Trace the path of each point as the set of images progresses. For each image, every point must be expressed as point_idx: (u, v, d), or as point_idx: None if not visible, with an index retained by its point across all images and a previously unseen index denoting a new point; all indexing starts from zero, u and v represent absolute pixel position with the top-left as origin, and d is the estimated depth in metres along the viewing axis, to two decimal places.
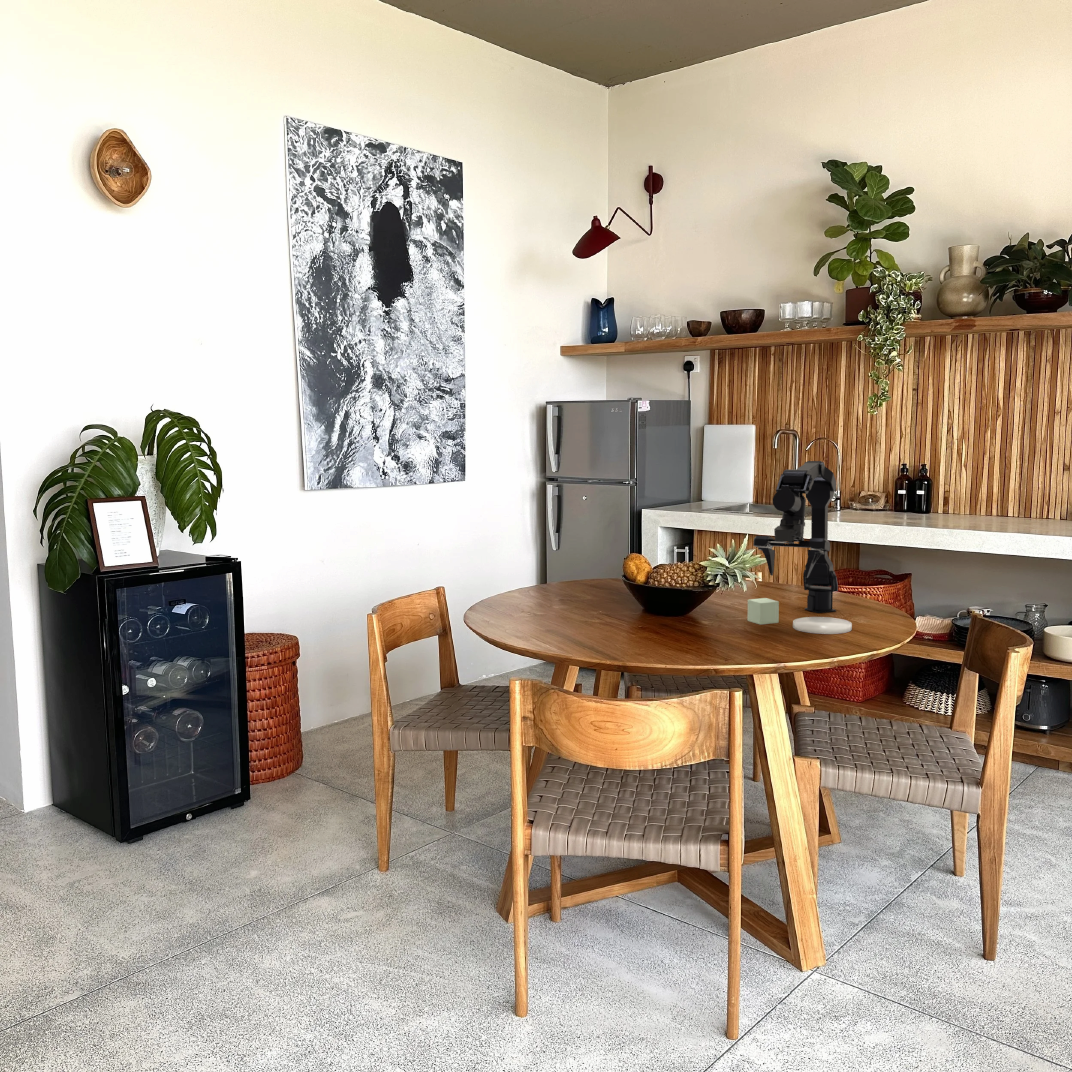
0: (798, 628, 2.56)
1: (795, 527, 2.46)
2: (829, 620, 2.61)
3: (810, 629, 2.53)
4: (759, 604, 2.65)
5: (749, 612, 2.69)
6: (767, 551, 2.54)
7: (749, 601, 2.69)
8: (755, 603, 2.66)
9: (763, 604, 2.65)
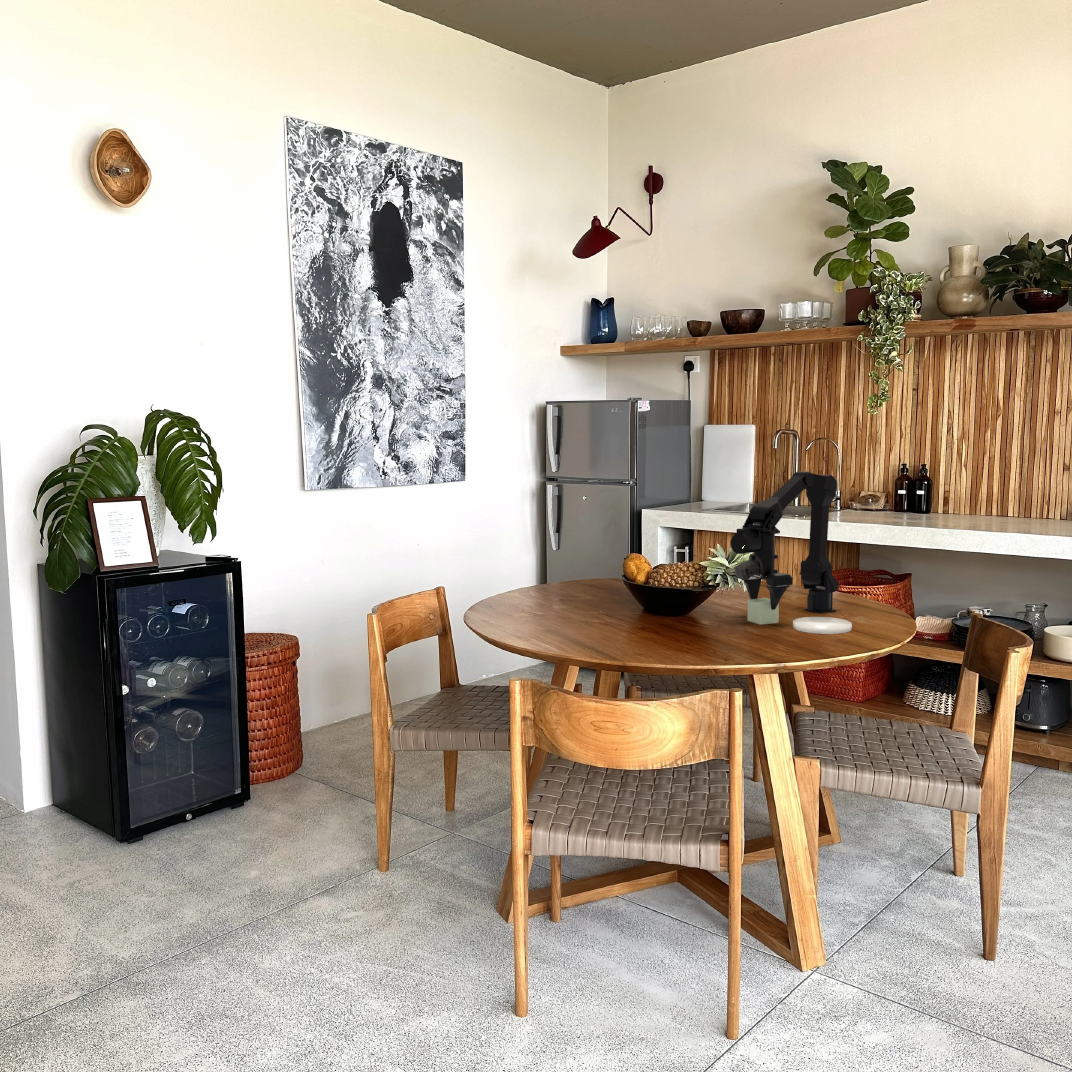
0: (798, 628, 2.56)
1: (747, 567, 2.62)
2: (829, 620, 2.61)
3: (810, 629, 2.53)
4: (759, 604, 2.65)
5: (749, 612, 2.69)
6: (745, 582, 2.72)
7: (749, 601, 2.69)
8: (755, 603, 2.66)
9: (763, 604, 2.65)
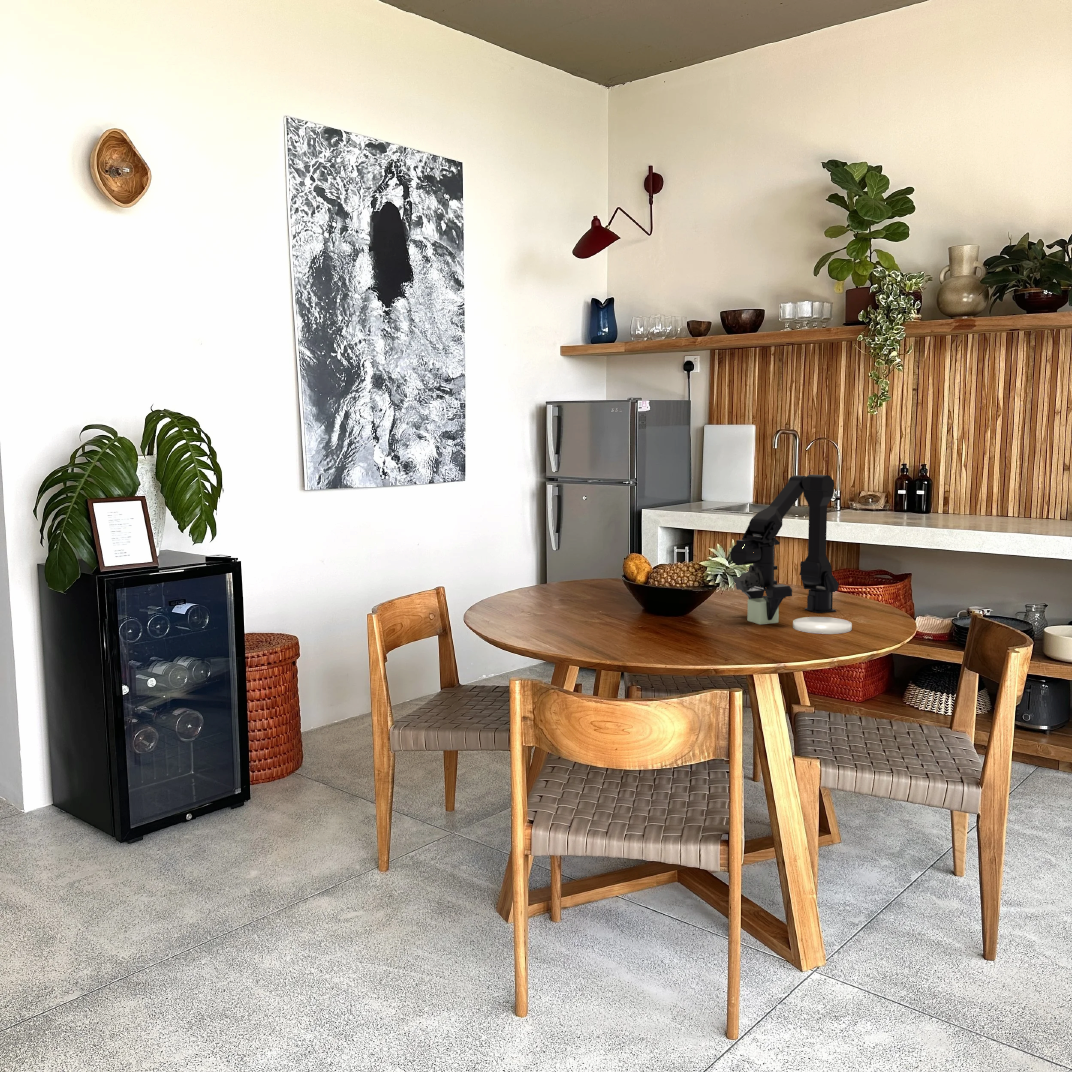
0: (798, 628, 2.56)
1: (746, 578, 2.62)
2: (829, 620, 2.61)
3: (810, 629, 2.53)
4: (759, 604, 2.65)
5: (749, 612, 2.69)
6: (747, 594, 2.71)
7: (749, 601, 2.69)
8: (755, 603, 2.66)
9: (763, 604, 2.65)
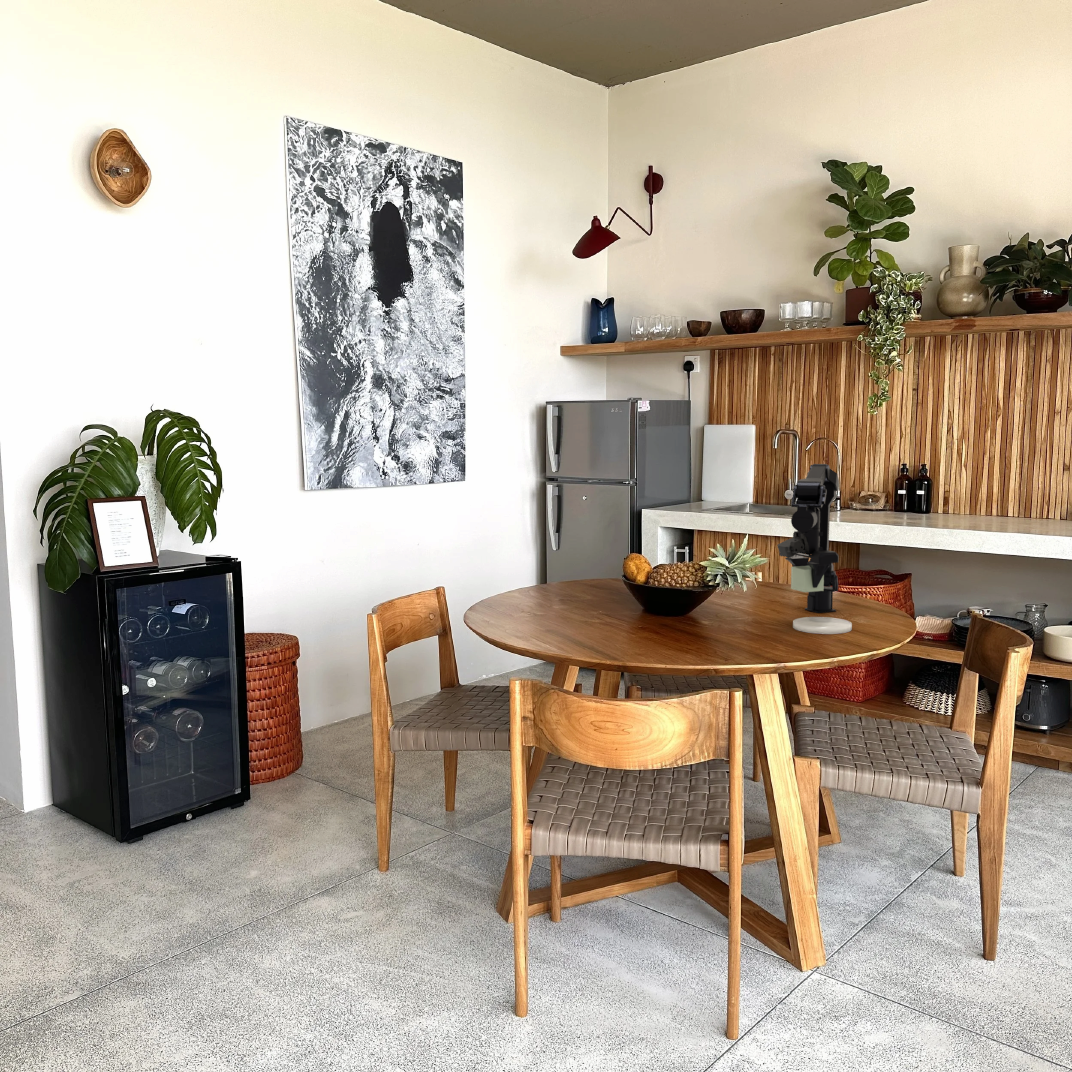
0: (798, 628, 2.56)
1: (791, 544, 2.54)
2: (829, 620, 2.61)
3: (810, 629, 2.53)
4: (803, 571, 2.56)
5: (793, 580, 2.61)
6: (791, 562, 2.62)
7: (793, 568, 2.61)
8: (799, 570, 2.58)
9: (808, 571, 2.56)
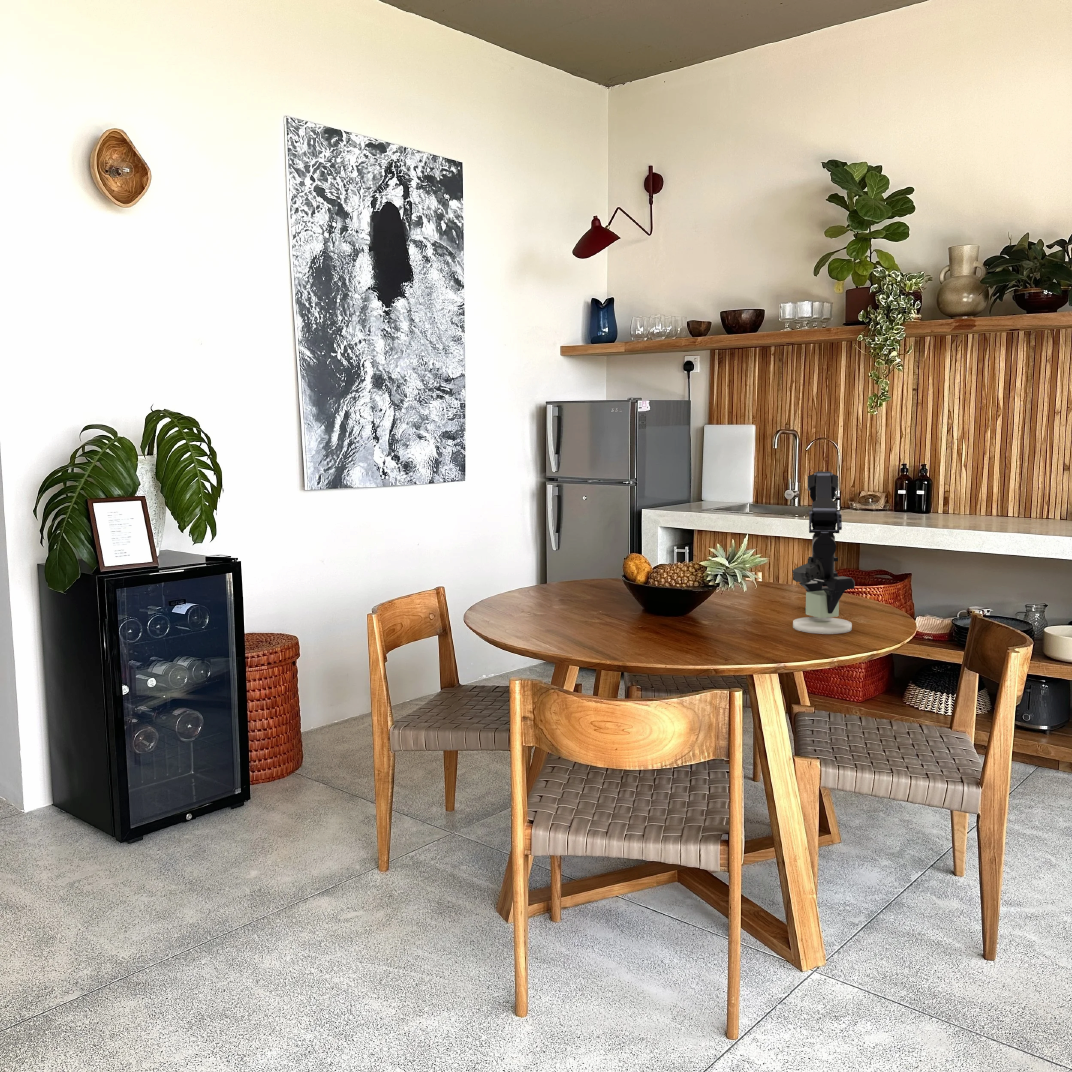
0: (798, 628, 2.56)
1: (807, 570, 2.52)
2: (829, 620, 2.61)
3: (810, 629, 2.53)
4: (819, 597, 2.55)
5: (808, 605, 2.59)
6: (806, 587, 2.61)
7: (808, 594, 2.59)
8: (814, 596, 2.56)
9: (823, 597, 2.55)
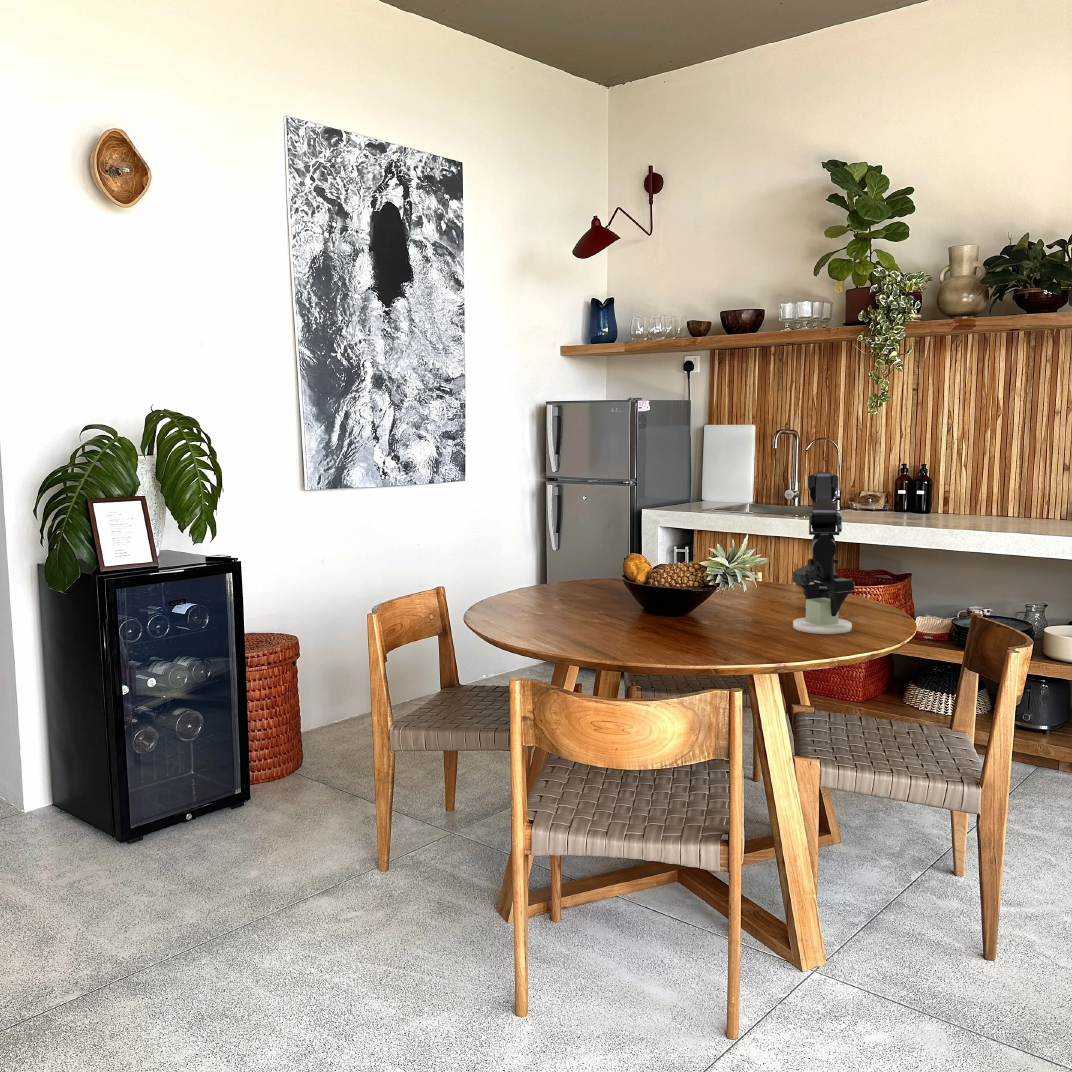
0: (798, 628, 2.56)
1: (807, 572, 2.52)
2: None
3: (810, 629, 2.53)
4: (819, 604, 2.55)
5: (807, 612, 2.59)
6: (802, 588, 2.62)
7: (807, 601, 2.59)
8: (814, 603, 2.57)
9: (823, 604, 2.55)
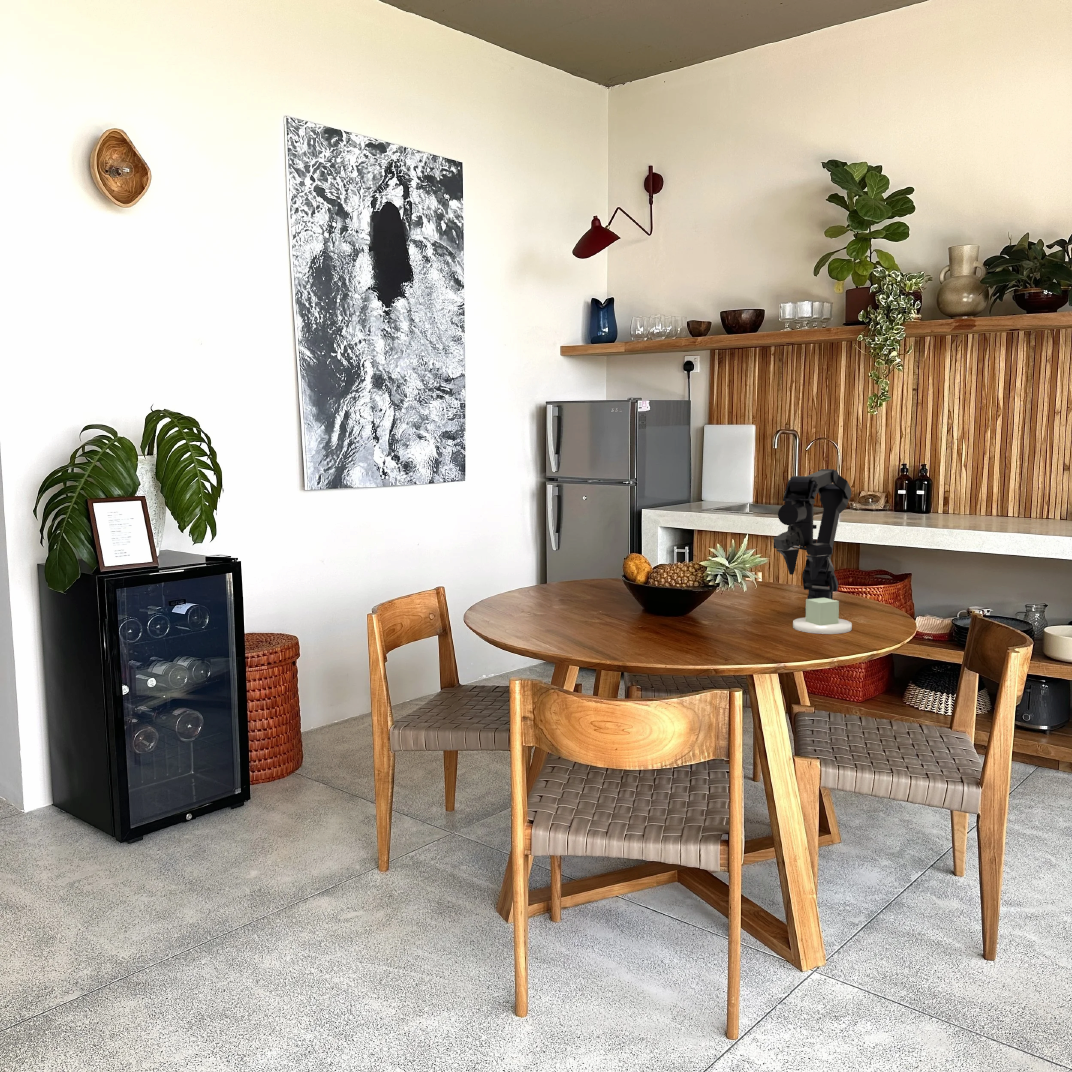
0: (798, 628, 2.56)
1: (787, 537, 2.64)
2: None
3: (810, 629, 2.53)
4: (819, 604, 2.55)
5: (807, 612, 2.59)
6: (783, 553, 2.74)
7: (807, 601, 2.59)
8: (814, 603, 2.56)
9: (823, 604, 2.55)
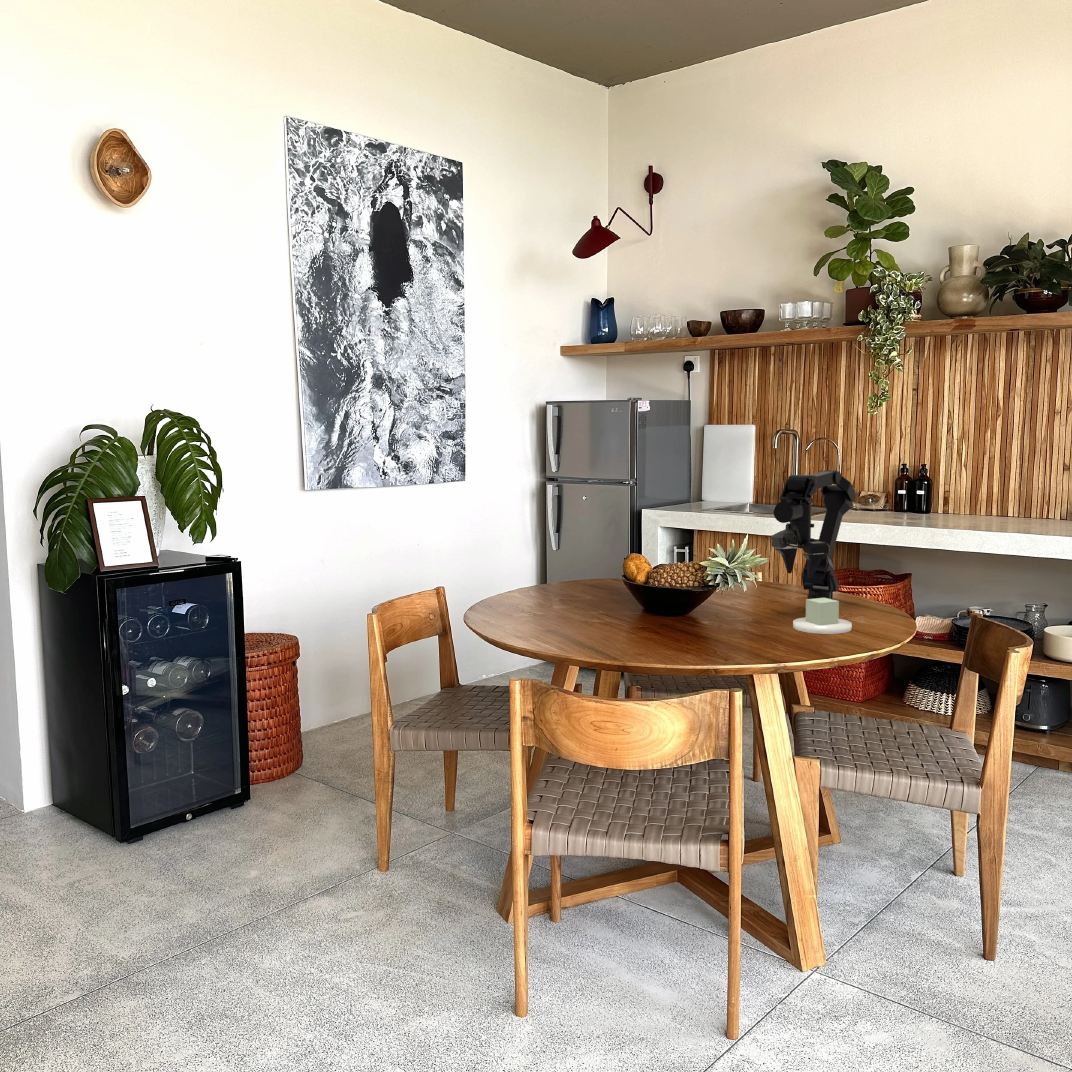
0: (798, 628, 2.56)
1: (784, 535, 2.65)
2: None
3: (810, 629, 2.53)
4: (819, 604, 2.55)
5: (807, 612, 2.59)
6: (781, 552, 2.75)
7: (807, 601, 2.59)
8: (814, 603, 2.56)
9: (823, 604, 2.55)
